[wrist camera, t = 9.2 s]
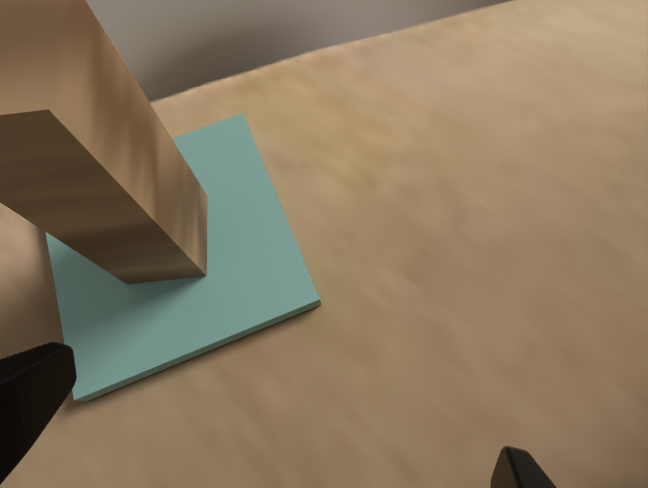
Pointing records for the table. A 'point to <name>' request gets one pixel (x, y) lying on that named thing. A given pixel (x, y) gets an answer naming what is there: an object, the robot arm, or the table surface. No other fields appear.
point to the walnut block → (92, 148)
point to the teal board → (189, 293)
